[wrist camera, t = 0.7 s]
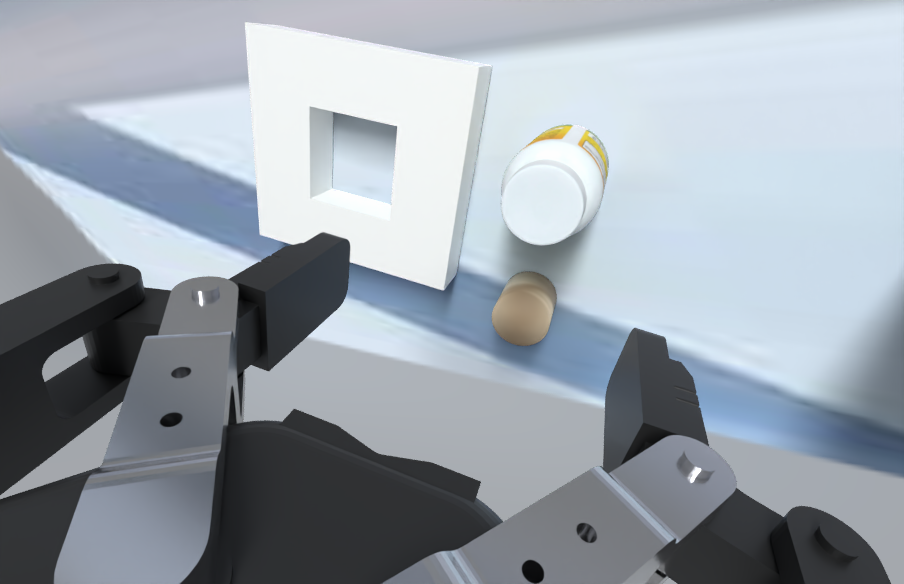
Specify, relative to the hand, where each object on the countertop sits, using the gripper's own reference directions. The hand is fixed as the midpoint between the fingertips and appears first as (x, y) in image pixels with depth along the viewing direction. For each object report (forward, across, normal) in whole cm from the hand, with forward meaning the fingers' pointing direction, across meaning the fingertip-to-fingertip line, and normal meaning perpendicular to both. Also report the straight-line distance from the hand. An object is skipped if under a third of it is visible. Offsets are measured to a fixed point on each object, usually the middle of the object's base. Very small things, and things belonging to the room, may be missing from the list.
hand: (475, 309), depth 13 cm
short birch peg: (+21, -1, +10) cm, 23 cm away
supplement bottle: (+21, -1, 0) cm, 21 cm away
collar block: (+21, +13, +3) cm, 25 cm away
